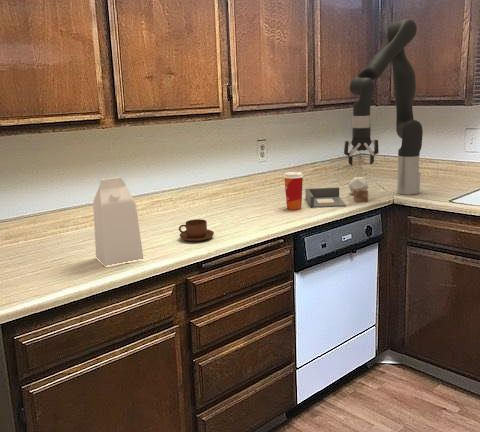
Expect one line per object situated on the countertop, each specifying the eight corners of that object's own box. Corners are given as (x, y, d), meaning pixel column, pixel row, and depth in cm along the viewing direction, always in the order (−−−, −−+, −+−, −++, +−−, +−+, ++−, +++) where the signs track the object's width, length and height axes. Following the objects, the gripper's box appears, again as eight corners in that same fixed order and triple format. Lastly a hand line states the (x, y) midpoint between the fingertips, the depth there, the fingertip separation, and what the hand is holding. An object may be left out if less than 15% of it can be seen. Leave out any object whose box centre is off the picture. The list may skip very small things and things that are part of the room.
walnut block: (365, 199, 239) (365, 188, 238) (367, 202, 234) (367, 190, 233) (353, 200, 239) (353, 188, 238) (356, 202, 234) (356, 191, 233)
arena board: (338, 197, 245) (338, 187, 244) (346, 206, 228) (346, 195, 227) (305, 198, 245) (305, 188, 244) (310, 207, 228) (310, 197, 227)
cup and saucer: (183, 245, 183) (182, 228, 182) (177, 236, 195) (176, 219, 193) (217, 241, 187) (216, 224, 185) (209, 232, 198) (208, 216, 196)
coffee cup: (289, 205, 234) (288, 171, 230) (307, 207, 229) (306, 172, 226) (280, 209, 227) (279, 174, 223) (298, 211, 222) (298, 175, 219)
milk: (132, 251, 179) (125, 173, 173) (143, 260, 169) (136, 178, 163) (96, 258, 174) (87, 178, 167) (105, 268, 164) (96, 183, 157)
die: (357, 198, 244) (370, 181, 243) (342, 187, 248) (355, 170, 246) (361, 201, 252) (374, 184, 250) (346, 190, 255) (359, 174, 254)
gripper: (376, 125, 232) (375, 162, 236) (342, 126, 233) (342, 163, 236) (380, 126, 225) (379, 165, 229) (346, 127, 225) (346, 166, 229)
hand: (361, 164), depth 233 cm, fingers open, 8 cm apart
